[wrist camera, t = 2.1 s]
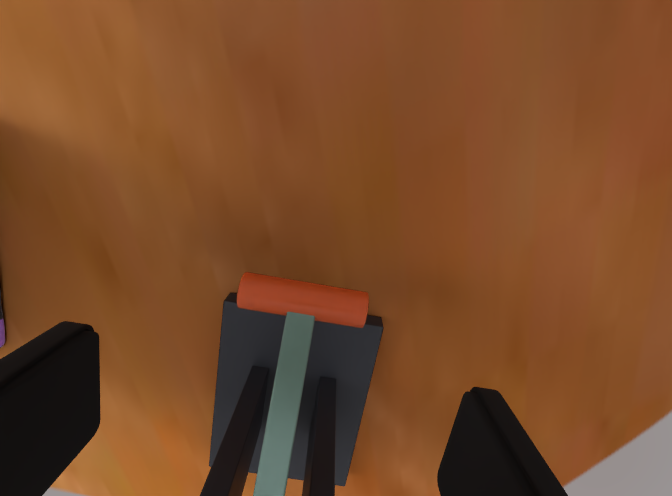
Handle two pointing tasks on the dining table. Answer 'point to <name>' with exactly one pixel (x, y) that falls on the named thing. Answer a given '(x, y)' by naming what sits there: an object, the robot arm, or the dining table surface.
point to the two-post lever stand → (315, 408)
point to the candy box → (1, 326)
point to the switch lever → (293, 357)
